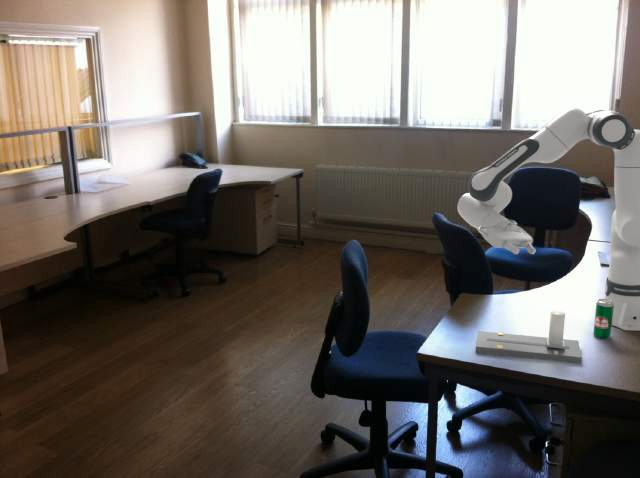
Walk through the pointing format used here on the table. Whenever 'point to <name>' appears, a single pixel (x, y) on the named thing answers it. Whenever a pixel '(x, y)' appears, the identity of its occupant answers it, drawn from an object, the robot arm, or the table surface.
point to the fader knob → (556, 330)
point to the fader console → (526, 347)
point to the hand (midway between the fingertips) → (526, 252)
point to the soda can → (603, 318)
